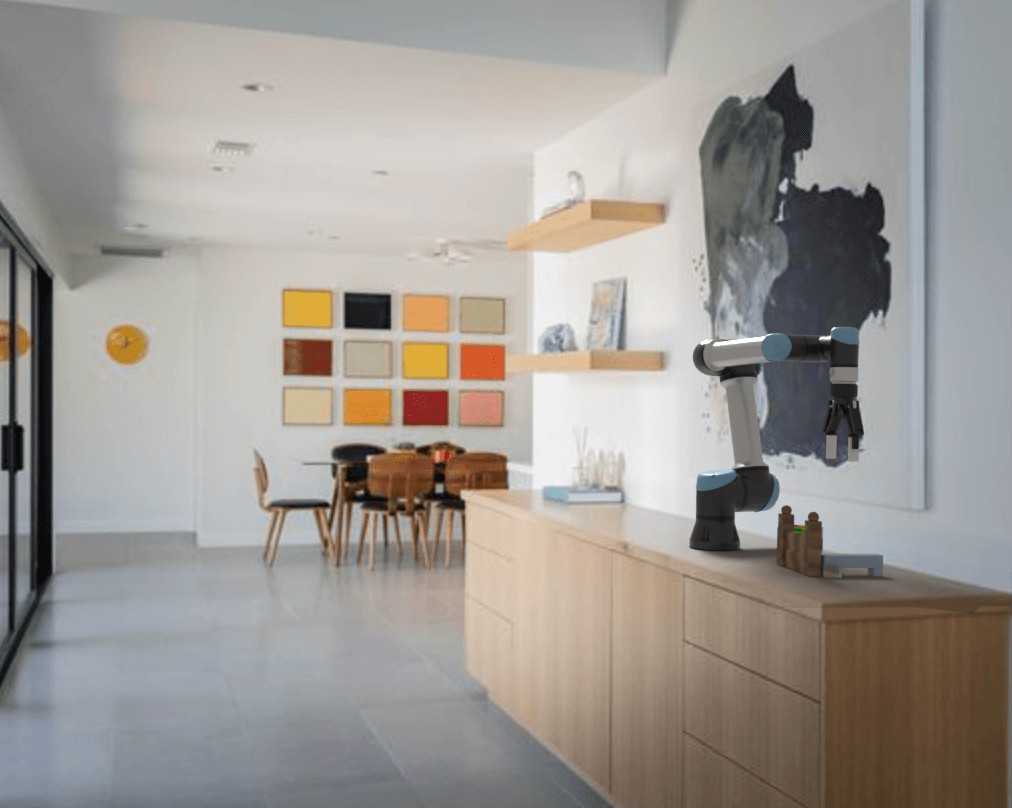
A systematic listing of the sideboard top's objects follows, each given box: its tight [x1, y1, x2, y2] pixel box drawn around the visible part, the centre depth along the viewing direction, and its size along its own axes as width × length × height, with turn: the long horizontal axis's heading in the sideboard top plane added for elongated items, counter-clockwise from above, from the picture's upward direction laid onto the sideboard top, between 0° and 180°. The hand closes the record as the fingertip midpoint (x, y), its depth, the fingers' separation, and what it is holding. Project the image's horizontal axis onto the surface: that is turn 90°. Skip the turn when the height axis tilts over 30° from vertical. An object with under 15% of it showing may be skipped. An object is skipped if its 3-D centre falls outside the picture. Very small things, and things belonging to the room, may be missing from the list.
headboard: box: [776, 505, 843, 579], centre depth 307 cm, size 22×8×16 cm, turn 10°
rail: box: [820, 553, 884, 577], centre depth 301 cm, size 4×16×5 cm, turn 99°
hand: (842, 460), depth 322 cm, fingers open, 13 cm apart
